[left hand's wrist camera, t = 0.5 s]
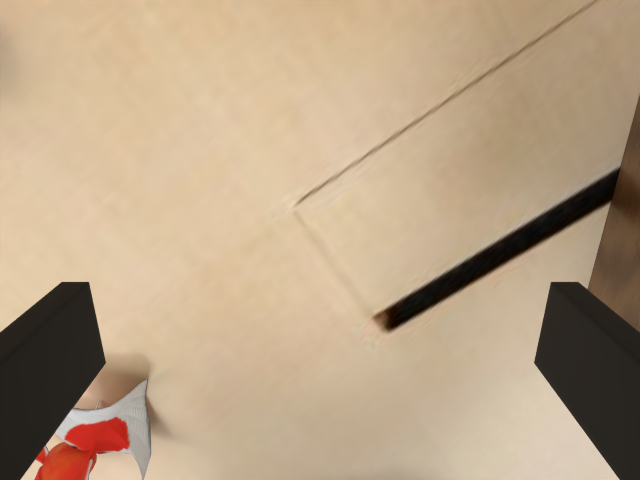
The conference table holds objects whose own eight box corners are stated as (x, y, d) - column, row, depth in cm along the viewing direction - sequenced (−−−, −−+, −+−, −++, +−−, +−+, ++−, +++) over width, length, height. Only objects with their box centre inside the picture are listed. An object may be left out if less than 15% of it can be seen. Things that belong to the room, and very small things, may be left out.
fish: (-33, 433, 41) (-43, 527, 34) (113, 328, 45) (133, 391, 37) (51, 476, 48) (57, 562, 41) (172, 381, 52) (199, 444, 44)
